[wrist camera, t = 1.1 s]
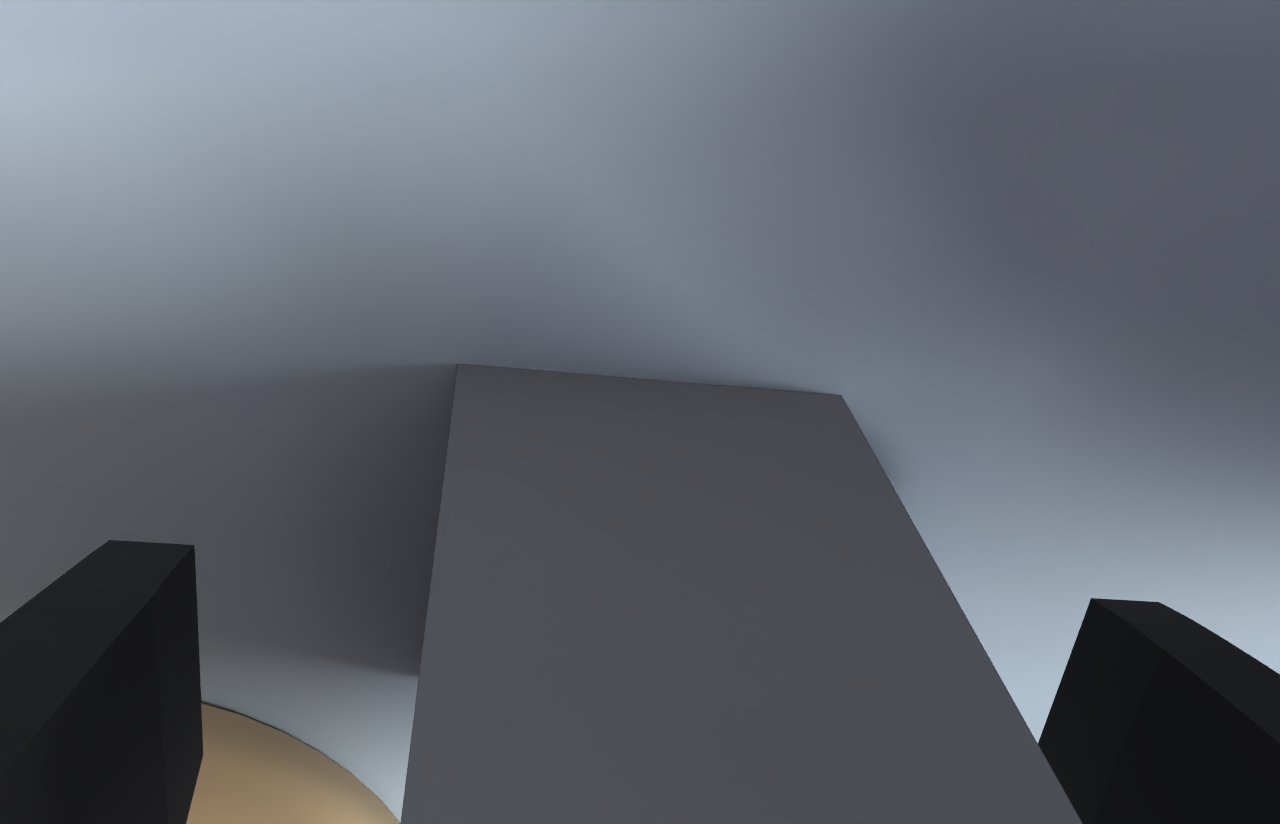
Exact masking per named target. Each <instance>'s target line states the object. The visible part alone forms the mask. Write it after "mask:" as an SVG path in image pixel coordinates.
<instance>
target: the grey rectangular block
mask: <svg viewBox="0 0 1280 824" xmlns="http://www.w3.org/2000/svg"><path fill="white" fill-rule="evenodd" d="M401 824H1082V822H1081V820H1080V818H1079V816H1078V815H1077V813H1076V811H1075V809H1074V808H1073V806H1072V804H1071V802H1070V800H1069V799H1068V797H1067V795H1066V793H1065V792H1064V790H1063V788H1062V786H1061V784H1060V783H1059V781H1058V779H1057V777H1056V776H1055V774H1054V772H1053V770H1052V768H1051V767H1050V765H1049V763H1048V761H1047V760H1046V758H1045V756H1044V754H1043V752H1042V751H1041V749H1040V747H1039V745H1038V744H1037V742H1036V740H1035V738H1034V737H1033V735H1032V733H1031V731H1030V729H1029V728H1028V726H1027V724H1026V722H1025V721H1024V719H1023V717H1022V715H1021V713H1020V712H1019V710H1018V708H1017V706H1016V705H1015V703H1014V701H1013V699H1012V697H1011V696H1010V694H1009V692H1008V690H1007V689H1006V687H1005V685H1004V683H1003V681H1002V680H1001V678H1000V676H999V674H998V673H997V671H996V669H995V667H994V666H993V664H992V662H991V660H990V658H989V657H988V655H987V653H986V651H985V650H984V648H983V646H982V644H981V642H980V641H979V639H978V637H977V635H976V634H975V632H974V630H973V628H972V626H971V625H970V623H969V621H968V619H967V618H966V616H965V614H964V612H963V610H962V609H961V607H960V605H959V603H958V602H957V600H956V598H955V596H954V594H953V593H952V591H951V589H950V587H949V586H948V584H947V582H946V580H945V579H944V577H943V575H942V573H941V571H940V570H939V568H938V566H937V564H936V563H935V561H934V559H933V557H932V555H931V554H930V552H929V550H928V548H927V547H926V545H925V543H924V541H923V539H922V538H921V536H920V534H919V532H918V531H917V529H916V527H915V525H914V523H913V522H912V520H911V518H910V516H909V515H908V513H907V511H906V509H905V507H904V506H903V504H902V502H901V500H900V499H899V497H898V495H897V493H896V492H895V490H894V488H893V486H892V484H891V483H890V481H889V479H888V477H887V476H886V474H885V472H884V470H883V468H882V467H881V465H880V463H879V461H878V460H877V458H876V456H875V454H874V452H873V451H872V449H871V447H870V445H869V444H868V442H867V440H866V438H865V436H864V435H863V433H862V431H861V429H860V428H859V426H858V424H857V422H856V420H855V419H854V417H853V415H852V413H851V412H850V410H849V408H848V406H847V405H846V403H845V401H844V399H843V397H842V396H841V395H830V394H818V393H805V392H793V391H781V390H769V389H757V388H745V387H733V386H721V385H709V384H697V383H685V382H672V381H660V380H648V379H636V378H624V377H612V376H600V375H588V374H576V373H564V372H552V371H539V370H527V369H515V368H503V367H491V366H479V365H467V364H458V368H457V376H456V384H455V392H454V400H453V408H452V416H451V424H450V432H449V440H448V448H447V456H446V464H445V472H444V480H443V488H442V496H441V504H440V512H439V520H438V528H437V536H436V544H435V552H434V560H433V568H432V576H431V584H430V592H429V600H428V608H427V616H426V624H425V632H424V640H423V648H422V656H421V664H420V672H419V680H418V688H417V696H416V704H415V712H414V720H413V728H412V736H411V744H410V752H409V760H408V768H407V776H406V784H405V793H404V801H403V809H402V817H401Z"/></svg>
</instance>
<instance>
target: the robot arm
mask: <svg viewBox="0 0 1280 824" xmlns="http://www.w3.org/2000/svg"><path fill="white" fill-rule="evenodd" d="M1038 745H1039V747H1040V749H1041V751H1042V752H1043V754H1044V756H1045V758H1046V760H1047V761H1048V763H1049V765H1050V767H1051V768H1052V770H1053V772H1054V774H1055V776H1056V777H1057V779H1058V781H1059V783H1060V784H1061V786H1062V788H1063V790H1064V792H1065V793H1066V795H1067V797H1068V799H1069V800H1070V802H1071V804H1072V806H1073V808H1074V809H1075V811H1076V813H1077V815H1078V816H1079V818H1080V820H1081V822H1082V824H1280V674H1278V673H1277V672H1275V671H1273V670H1272V669H1270V668H1269V667H1267V666H1266V665H1264V664H1263V663H1261V662H1260V661H1258V660H1256V659H1255V658H1253V657H1252V656H1250V655H1249V654H1247V653H1245V652H1244V651H1242V650H1241V649H1239V648H1237V647H1236V646H1234V645H1233V644H1231V643H1229V642H1228V641H1226V640H1225V639H1223V638H1222V637H1220V636H1218V635H1217V634H1215V633H1213V632H1212V631H1210V630H1208V629H1207V628H1205V627H1203V626H1202V625H1200V624H1198V623H1196V622H1195V621H1193V620H1191V619H1189V618H1188V617H1186V616H1184V615H1182V614H1180V613H1178V612H1177V611H1175V610H1173V609H1171V608H1169V607H1167V606H1165V605H1163V604H1161V603H1159V602H1146V601H1129V600H1112V599H1095V598H1091V600H1090V603H1089V606H1088V608H1087V611H1086V614H1085V617H1084V619H1083V622H1082V625H1081V628H1080V630H1079V633H1078V636H1077V639H1076V641H1075V644H1074V647H1073V649H1072V652H1071V655H1070V658H1069V660H1068V663H1067V666H1066V669H1065V671H1064V674H1063V677H1062V680H1061V682H1060V685H1059V688H1058V690H1057V693H1056V696H1055V699H1054V701H1053V704H1052V707H1051V710H1050V712H1049V715H1048V718H1047V721H1046V723H1045V726H1044V729H1043V732H1042V734H1041V737H1040V740H1039V742H1038ZM202 758H203V734H202V710H201V687H200V664H199V641H198V618H197V594H196V571H195V548H194V545H182V544H165V543H148V542H131V541H114V540H109V541H108V542H106V543H105V544H104V545H102V546H101V547H99V548H98V549H97V550H95V551H94V552H92V553H91V554H90V555H88V556H87V557H86V558H84V559H83V560H82V561H80V562H79V563H78V564H76V565H75V566H74V567H73V568H71V569H70V570H69V571H67V572H66V573H65V574H63V575H62V576H61V577H60V578H58V579H57V580H56V581H54V582H53V583H52V584H50V585H49V586H48V587H46V588H45V589H44V590H43V591H41V592H40V593H39V594H37V595H36V596H35V597H33V598H32V599H31V600H29V601H28V602H27V603H26V604H24V605H23V606H22V607H20V608H19V609H18V610H16V611H15V612H14V613H13V614H11V615H10V616H9V617H7V618H6V619H5V620H3V621H2V622H1V623H0V824H186V822H187V818H188V814H189V810H190V806H191V802H192V798H193V794H194V790H195V786H196V782H197V778H198V774H199V770H200V766H201V762H202Z"/></svg>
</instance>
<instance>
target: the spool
mask: <svg viewBox="0 0 1280 824" xmlns="http://www.w3.org/2000/svg"><path fill="white" fill-rule="evenodd" d="M201 710H202V734H203V758H202V762H201V766H200V770H199V774H198V778H197V782H196V786H195V790H194V794H193V798H192V802H191V806H190V810H189V814H188V818H187V822H186V824H401V823H400V822H399V820H398V819H397V818H396V817H395V816H394V815H393V813H392V812H391V811H390V810H389V809H388V807H387V806H386V805H385V804H384V803H383V801H382V800H380V799H379V798H378V797H377V796H376V795H375V794H374V793H373V792H372V791H370V790H369V789H368V788H367V787H366V786H365V785H364V784H363V783H362V782H360V781H359V780H358V779H357V778H356V777H355V776H354V775H352V774H351V773H349V772H348V771H347V770H345V769H344V768H342V767H341V766H339V765H338V764H337V763H335V762H334V761H332V760H331V759H329V758H328V757H326V756H325V755H324V754H322V753H321V752H319V751H317V750H315V749H313V748H312V747H310V746H308V745H306V744H304V743H302V742H300V741H299V740H297V739H295V738H293V737H291V736H289V735H287V734H286V733H284V732H282V731H279V730H277V729H274V728H272V727H269V726H267V725H264V724H262V723H260V722H257V721H255V720H252V719H250V718H247V717H245V716H242V715H240V714H236V713H233V712H230V711H226V710H223V709H219V708H216V707H213V706H209V705H206V704H202V703H201Z"/></svg>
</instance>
